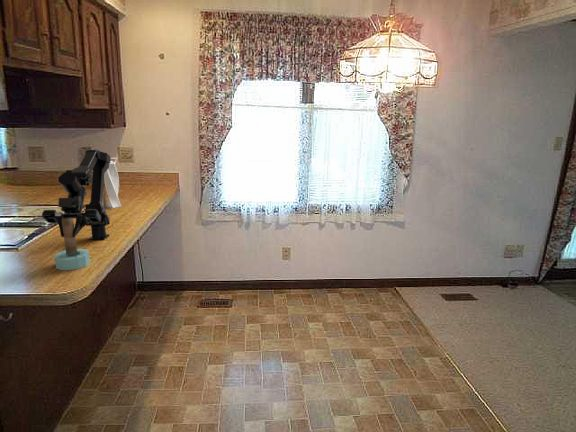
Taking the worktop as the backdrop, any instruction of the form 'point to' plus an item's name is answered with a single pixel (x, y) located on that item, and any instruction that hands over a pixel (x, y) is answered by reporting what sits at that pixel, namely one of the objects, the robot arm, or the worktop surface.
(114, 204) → the skyscraper
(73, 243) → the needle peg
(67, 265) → the bead
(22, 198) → the worktop surface
